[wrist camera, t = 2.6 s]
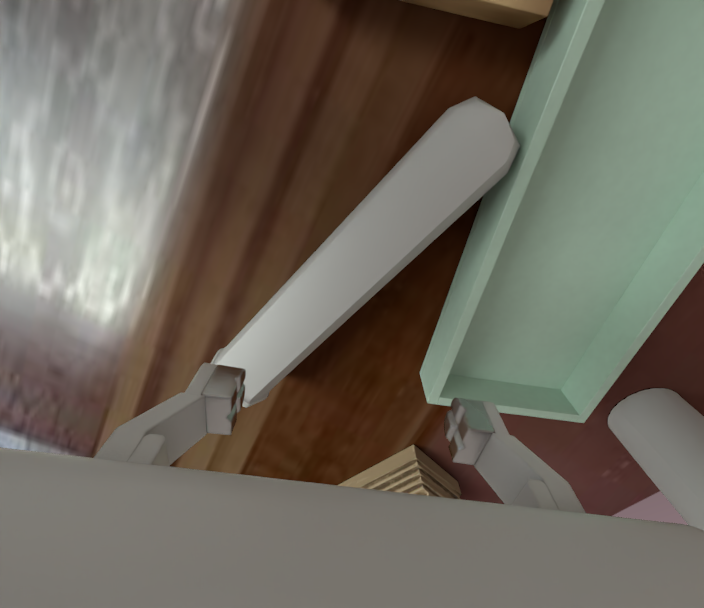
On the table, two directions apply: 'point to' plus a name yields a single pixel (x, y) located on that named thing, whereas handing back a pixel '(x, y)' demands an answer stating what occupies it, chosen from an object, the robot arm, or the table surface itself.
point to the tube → (375, 242)
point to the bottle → (666, 446)
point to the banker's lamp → (407, 476)
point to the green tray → (582, 214)
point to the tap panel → (493, 10)
